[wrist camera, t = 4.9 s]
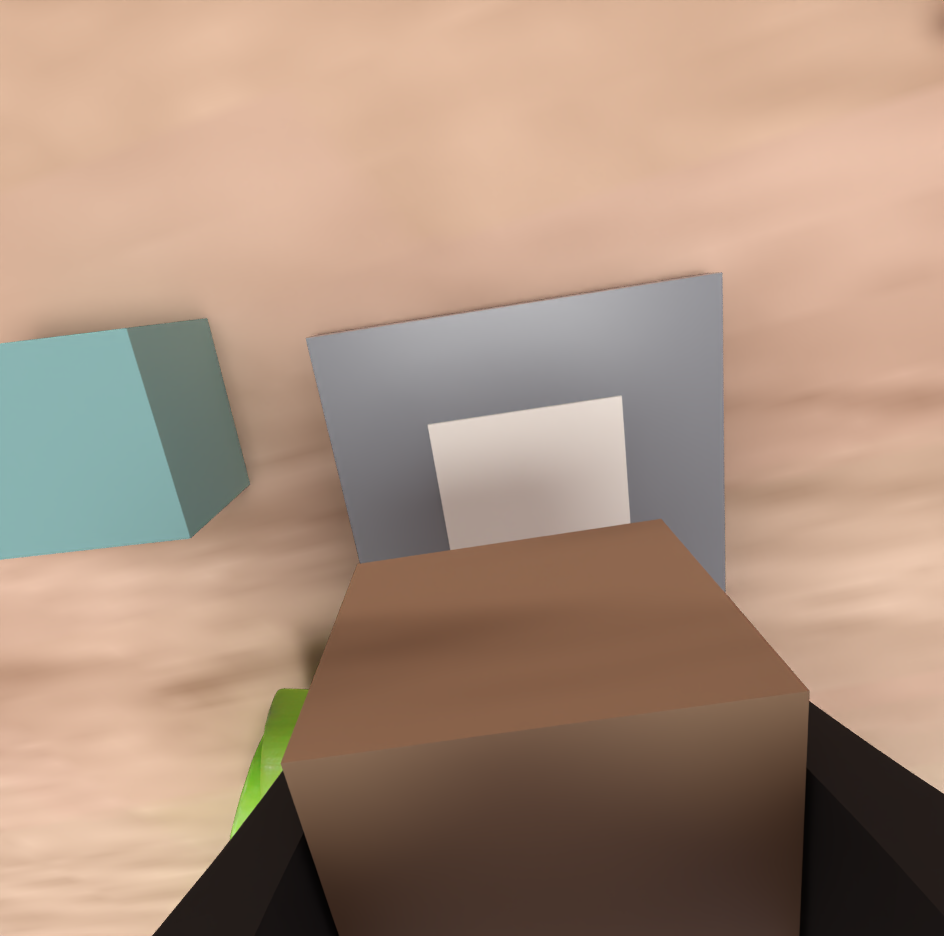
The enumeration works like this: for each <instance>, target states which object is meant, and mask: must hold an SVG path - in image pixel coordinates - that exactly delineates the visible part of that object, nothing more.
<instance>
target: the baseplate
mask: <svg viewBox="0 0 944 936" xmlns="http://www.w3.org/2000/svg"><path fill="white" fill-rule="evenodd" d="M306 341H307V346H308V350H309V354H310V358H311V362H312V366H313V370H314V375H315V379H316V383H317V387H318V391H319V395H320V399H321V404H322V408H323V412H324V416H325V420H326V424H327V428H328V433H329V437H330V441H331V445H332V449H333V453H334V458H335V462H336V466H337V470H338V474H339V478H340V482H341V487H342V491H343V495H344V499H345V503H346V507H347V511H348V516H349V520H350V524H351V528H352V532H353V536H354V540H355V545H356V549H357V553H358V557H359V561H360V564H361V563H367V562H374V561H381V560H387V559H394V558H401V557H408V556H414V555H421V554H428V553H434V552H441V551H448V550H455V549H461V548H468V547H475V546H482V545H488V544H495V543H502V542H508V541H515V540H522V539H529V538H535V537H542V536H549V535H555V534H562V533H569V532H576V531H582V530H589V529H596V528H602V527H609V526H616V525H623V524H629V523H636V522H643V521H650V520H656V519H662V520H663V521H664V523H665V524H666V525H667V526H668V527H669V528H670V530H671V531H672V532H673V533H674V534H675V535H676V537H677V538H678V539H679V540H680V541H681V542H682V543H683V545H684V546H685V547H686V548H687V549H688V550H689V552H690V553H691V554H692V555H693V556H694V557H695V559H696V560H697V561H698V562H699V563H700V564H701V566H702V567H703V568H704V569H705V570H706V571H707V573H708V574H709V575H710V576H711V577H712V578H713V579H714V581H715V582H716V583H717V584H718V585H719V586H720V588H721V589H722V590H723V591H724V592H725V510H724V402H723V294H722V272H721V273H705V274H699V275H693V276H687V277H680V278H674V279H668V280H661V281H655V282H649V283H642V284H636V285H630V286H623V287H617V288H611V289H604V290H598V291H592V292H586V293H579V294H573V295H567V296H560V297H554V298H548V299H541V300H535V301H529V302H522V303H516V304H510V305H504V306H497V307H491V308H485V309H478V310H472V311H466V312H459V313H453V314H447V315H440V316H434V317H428V318H421V319H415V320H409V321H403V322H396V323H390V324H384V325H377V326H371V327H365V328H358V329H352V330H346V331H339V332H333V333H327V334H321V335H315V336H312V337H309V338H306Z"/></svg>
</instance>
